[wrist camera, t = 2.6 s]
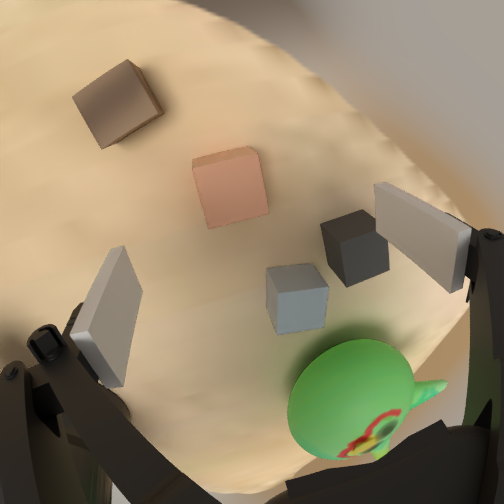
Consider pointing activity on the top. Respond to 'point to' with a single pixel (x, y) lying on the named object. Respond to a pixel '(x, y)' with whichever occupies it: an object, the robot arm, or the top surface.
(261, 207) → the terracotta cube
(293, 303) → the slate grey cube
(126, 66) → the walnut cube
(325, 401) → the toy bird
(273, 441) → the top surface
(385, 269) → the black rubber cube
